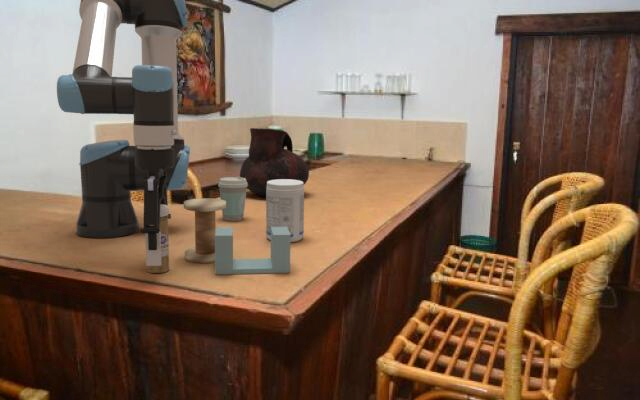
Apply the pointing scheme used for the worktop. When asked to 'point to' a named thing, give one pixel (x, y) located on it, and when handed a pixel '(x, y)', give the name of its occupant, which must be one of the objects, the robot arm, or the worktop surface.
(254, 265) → the blue-grey u-shaped block
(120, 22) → the robot arm
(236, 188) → the coffee cup
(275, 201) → the supplement tub
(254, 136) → the jug
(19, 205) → the worktop surface
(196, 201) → the bobbin
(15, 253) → the worktop surface
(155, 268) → the sprinkles bottle
